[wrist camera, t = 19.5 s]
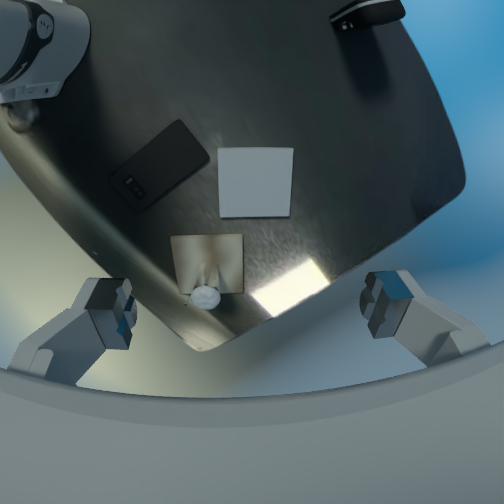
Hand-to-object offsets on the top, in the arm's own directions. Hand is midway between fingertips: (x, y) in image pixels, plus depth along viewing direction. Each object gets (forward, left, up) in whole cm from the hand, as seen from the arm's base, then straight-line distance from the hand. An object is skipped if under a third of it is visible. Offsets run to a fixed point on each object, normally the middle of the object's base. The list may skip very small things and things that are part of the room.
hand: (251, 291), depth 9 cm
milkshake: (-6, -23, -35) cm, 42 cm away
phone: (-12, -5, -36) cm, 38 cm away
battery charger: (+17, +19, -35) cm, 44 cm away
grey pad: (+3, -8, -35) cm, 36 cm away
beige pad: (-5, -23, -35) cm, 42 cm away
